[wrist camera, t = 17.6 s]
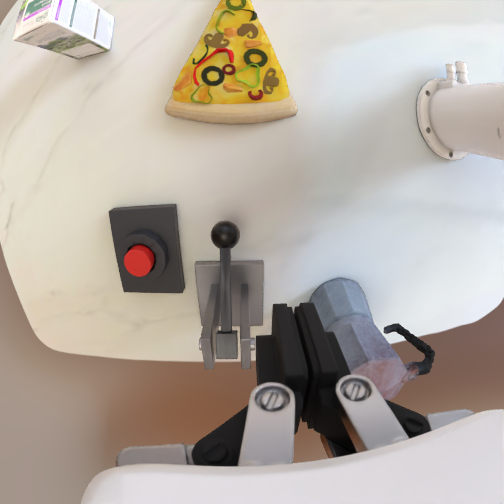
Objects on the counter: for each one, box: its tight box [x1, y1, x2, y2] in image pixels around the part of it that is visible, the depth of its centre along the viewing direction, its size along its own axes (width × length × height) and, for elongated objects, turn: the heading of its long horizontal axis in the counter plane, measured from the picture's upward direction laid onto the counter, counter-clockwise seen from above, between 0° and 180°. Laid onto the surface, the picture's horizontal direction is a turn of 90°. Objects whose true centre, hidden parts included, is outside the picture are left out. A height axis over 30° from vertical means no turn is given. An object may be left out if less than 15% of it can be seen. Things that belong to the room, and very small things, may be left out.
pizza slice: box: [165, 0, 298, 124], centre depth 25 cm, size 16×21×3 cm
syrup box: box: [13, 0, 115, 59], centre depth 18 cm, size 6×6×14 cm
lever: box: [211, 221, 240, 359], centre depth 30 cm, size 15×3×3 cm, turn 1°
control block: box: [109, 204, 185, 293], centre depth 35 cm, size 12×9×4 cm
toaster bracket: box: [195, 261, 263, 369], centre depth 34 cm, size 10×9×13 cm
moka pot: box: [310, 278, 435, 401], centre depth 31 cm, size 10×15×20 cm, turn 111°
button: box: [124, 245, 155, 277], centre depth 33 cm, size 4×4×2 cm
